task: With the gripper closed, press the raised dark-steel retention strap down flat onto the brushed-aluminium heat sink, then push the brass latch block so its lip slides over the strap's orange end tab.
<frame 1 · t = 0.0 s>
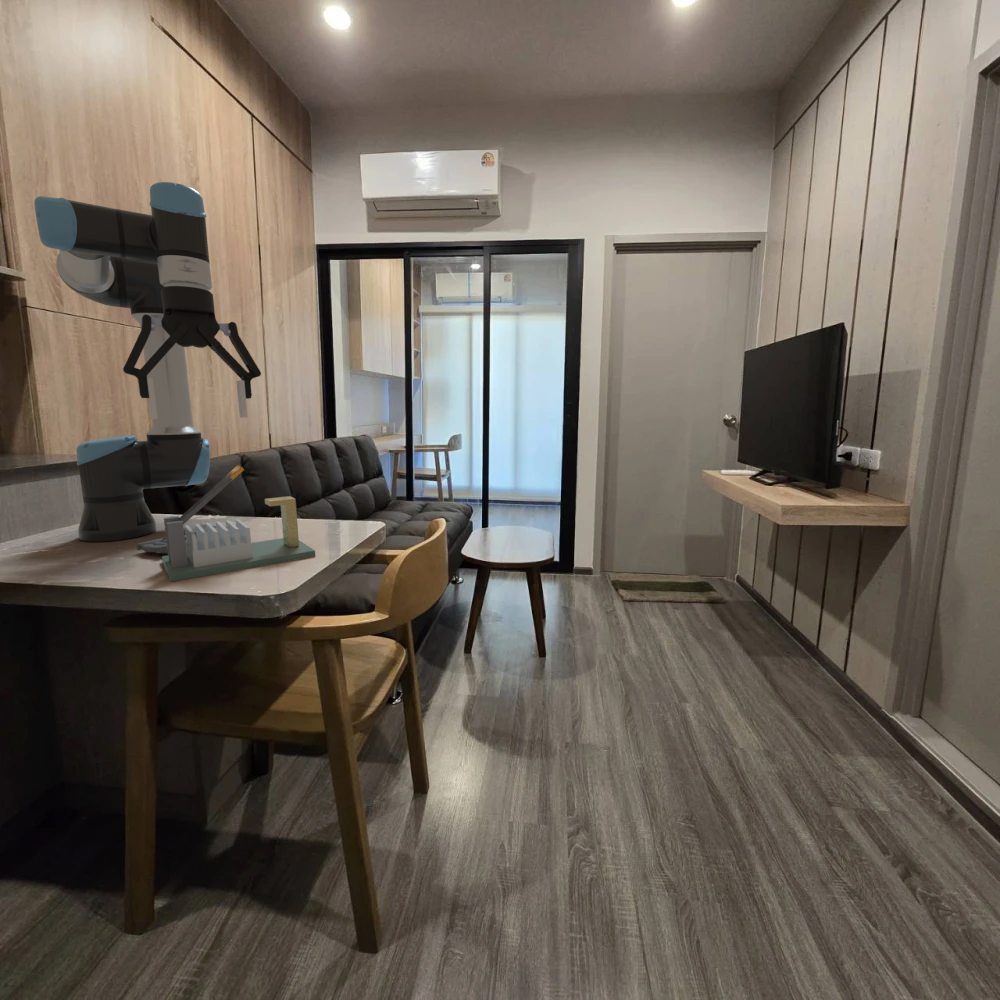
hand: (201, 418, 90), 28 cm above the table, fingers open, 13 cm apart
latch: (282, 522, 107), point 6 cm above the table, slide at 0.0 cm
graphics card: (184, 549, 114), on the table
board: (231, 560, 103), on the table
strap: (206, 498, 98), point 13 cm above the table, hinge at 40.0°
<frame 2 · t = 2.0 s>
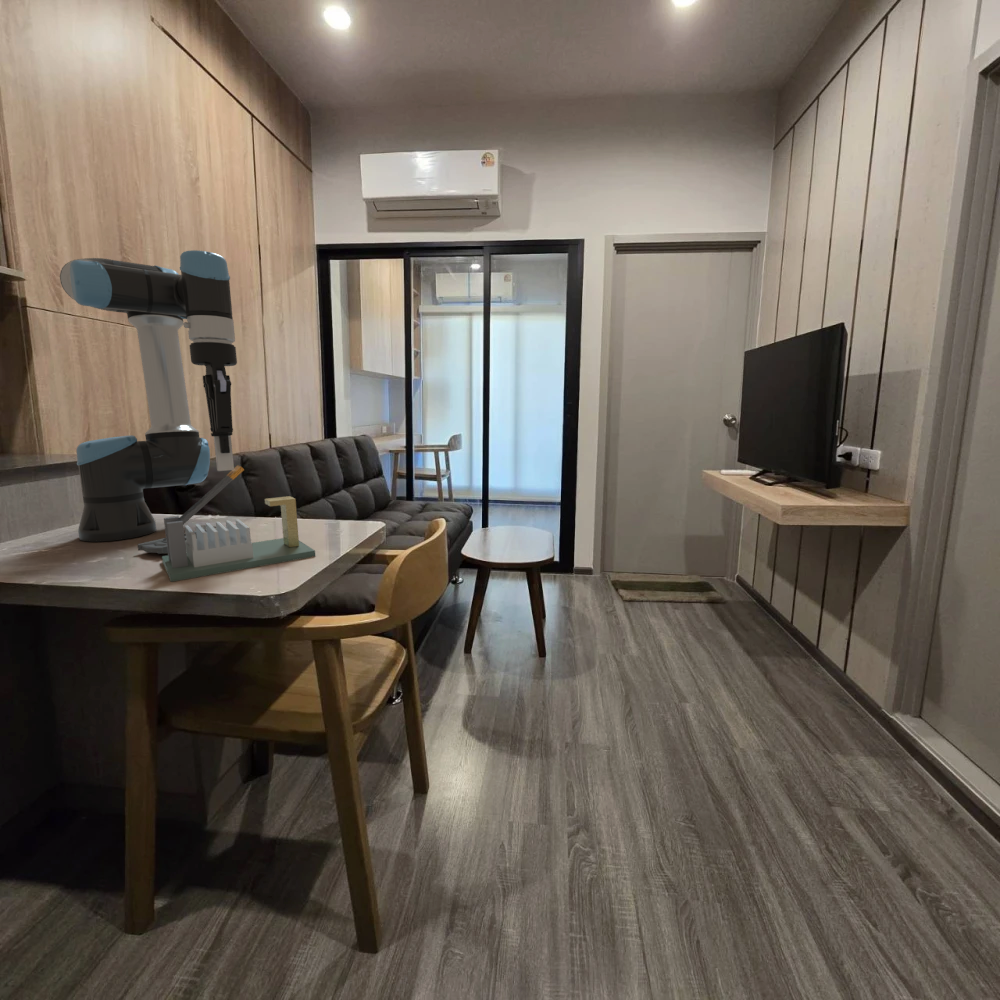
hand: (225, 470, 100), 18 cm above the table, fingers closed
strap: (206, 498, 98), point 13 cm above the table, hinge at 40.0°, touching gripper
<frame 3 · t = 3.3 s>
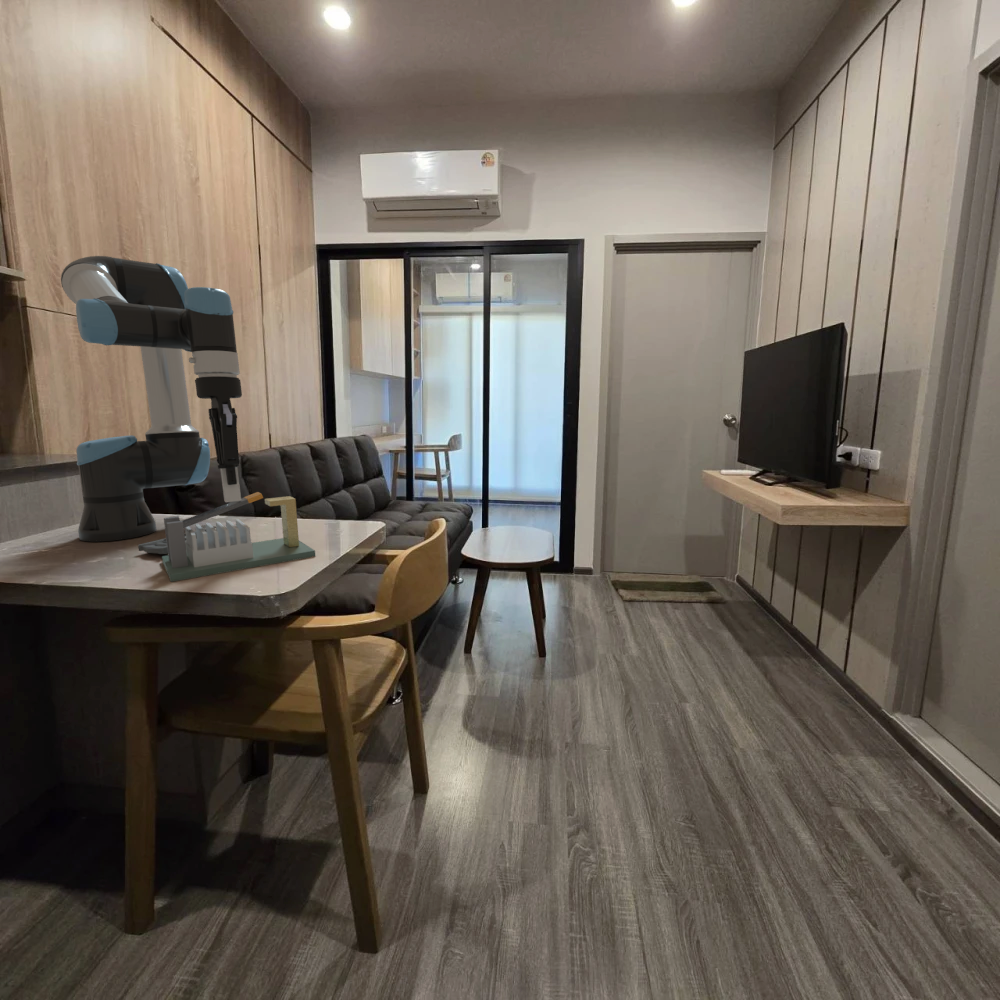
hand: (232, 500, 101), 12 cm above the table, fingers closed
strap: (217, 511, 100), point 10 cm above the table, hinge at 16.4°, touching gripper
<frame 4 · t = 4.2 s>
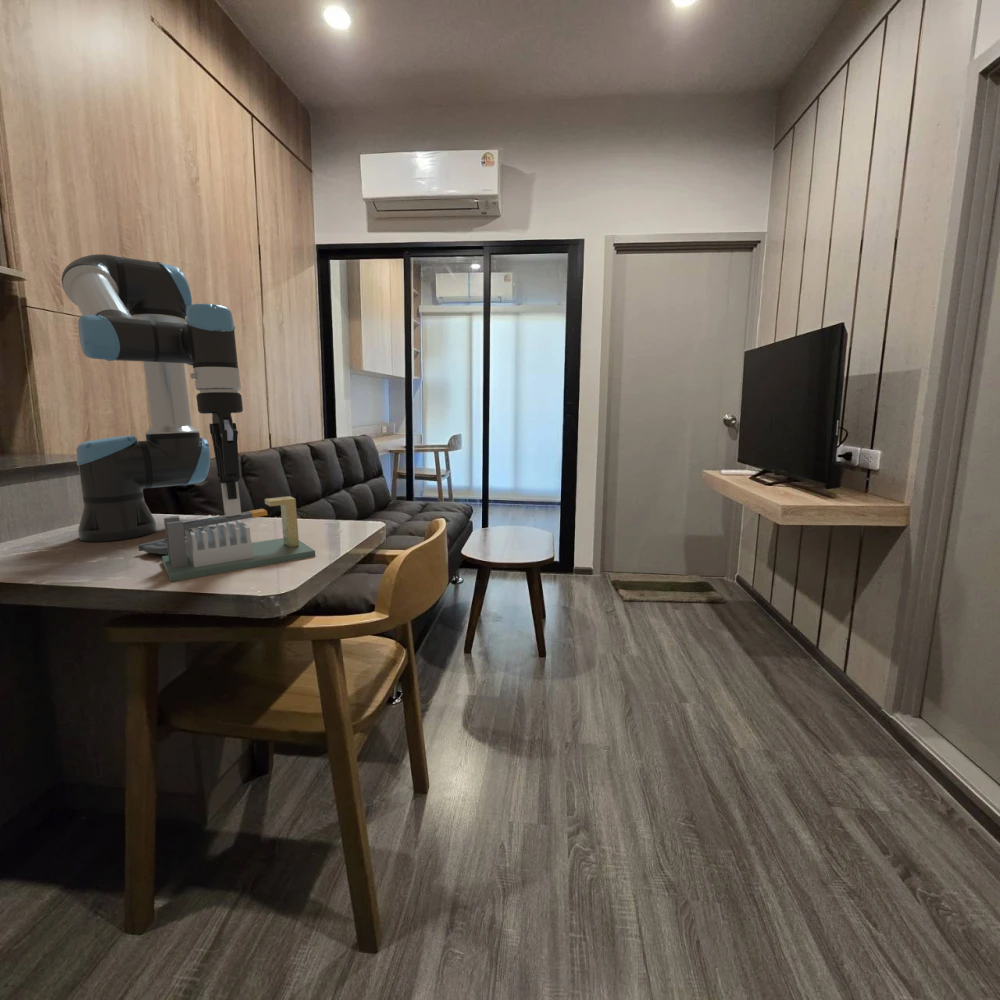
hand: (233, 515, 101), 9 cm above the table, fingers closed
strap: (219, 519, 100), point 8 cm above the table, hinge at 3.4°, touching gripper
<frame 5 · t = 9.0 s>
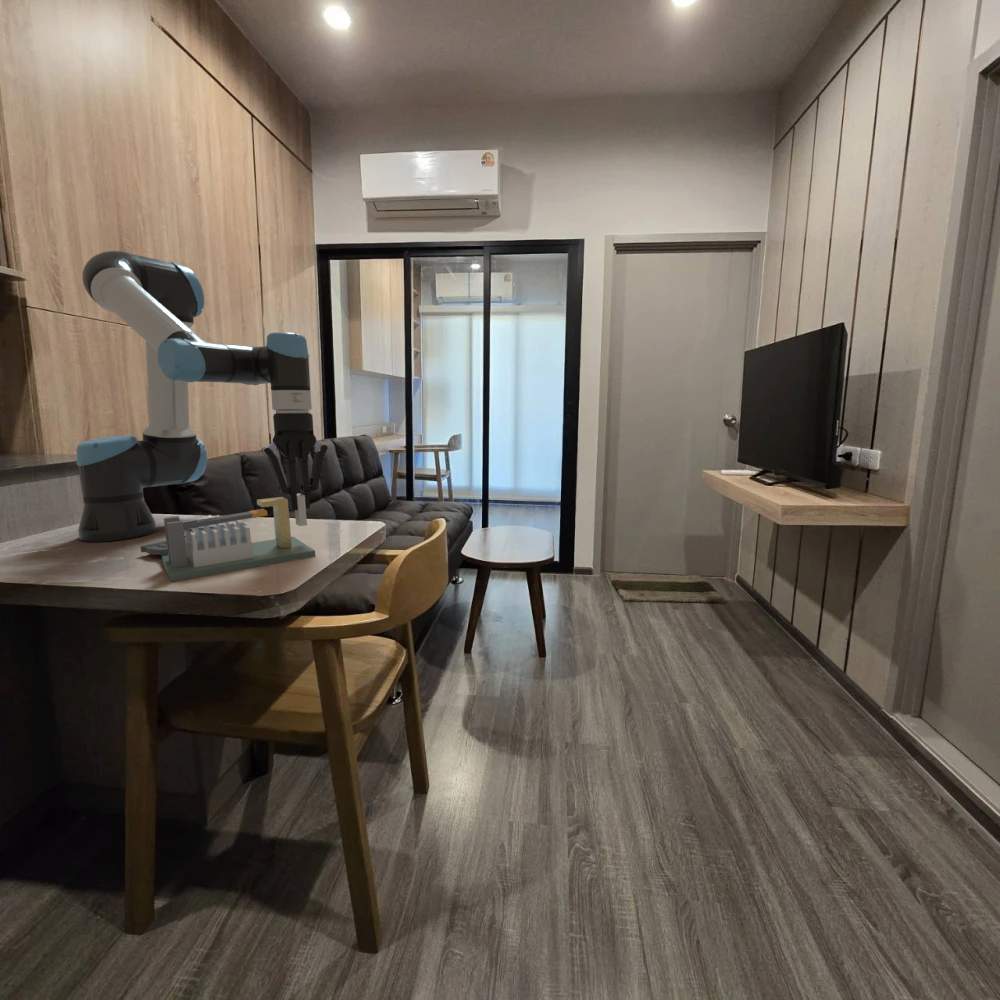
hand: (301, 524, 110), 5 cm above the table, fingers closed
latch: (274, 523, 107), point 6 cm above the table, slide at 1.5 cm, touching gripper
graphics card: (189, 551, 112), on the table
strap: (219, 519, 100), point 8 cm above the table, hinge at 3.3°
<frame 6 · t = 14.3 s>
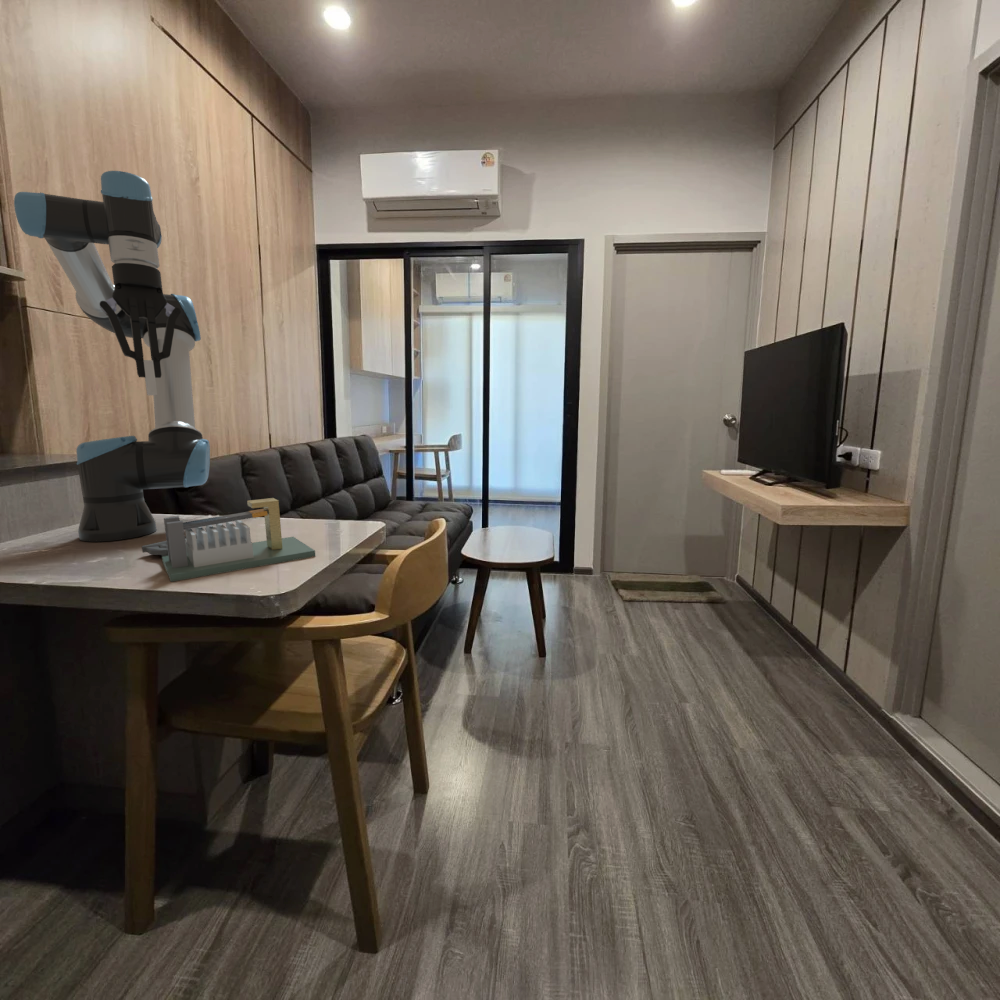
hand: (152, 395, 101), 32 cm above the table, fingers closed
latch: (264, 524, 105), point 6 cm above the table, slide at 3.3 cm
at the end: strap at +3° (first picture: +40°); latch slide at 3.3 cm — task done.
